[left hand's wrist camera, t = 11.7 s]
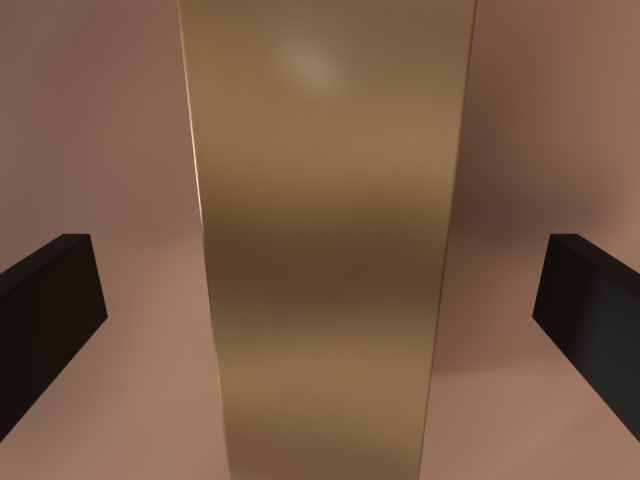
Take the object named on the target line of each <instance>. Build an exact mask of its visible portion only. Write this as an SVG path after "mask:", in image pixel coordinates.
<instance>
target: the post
mask: <svg viewBox="0 0 640 480" xmlns="http://www.w3.org/2000/svg"><path fill="white" fill-rule="evenodd" d="M476 7H477V0H177V8H178V18H179V27H180V36H181V45H182V54H183V64H184V73H185V82H186V91H187V100H188V110H189V119H190V128H191V137H192V146H193V156H194V165H195V174H196V183H197V192H198V201H199V211H200V220H201V229H202V238H203V247H204V257H205V266H206V275H207V284H208V293H209V303H210V312H211V321H212V330H213V339H214V349H215V358H216V367H217V376H218V385H219V394H220V404H221V413H222V422H223V431H224V440H225V450H226V459H227V468H228V477H229V480H419V473H420V465H421V457H422V449H423V441H424V432H425V424H426V416H427V408H428V400H429V392H430V383H431V375H432V367H433V359H434V351H435V342H436V334H437V326H438V318H439V310H440V301H441V293H442V285H443V277H444V269H445V261H446V252H447V244H448V236H449V228H450V220H451V211H452V203H453V195H454V187H455V179H456V170H457V162H458V154H459V146H460V138H461V130H462V121H463V113H464V105H465V97H466V89H467V80H468V72H469V64H470V56H471V48H472V40H473V31H474V23H475V15H476Z"/></svg>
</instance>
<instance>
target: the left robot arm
mask: <svg viewBox="0 0 640 480" xmlns="http://www.w3.org/2000/svg"><path fill="white" fill-rule="evenodd" d="M107 318H108V315H107V311H106V306H105V301H104V297H103V292H102V288H101V283H100V279H99V274H98V269H97V265H96V260H95V256H94V251H93V247H92V242H91V237H90V234H62V235H60V236H59V237H57V238H56V239H54V240H52V241H51V242H49V243H48V244H46V245H45V246H43V247H41V248H40V249H38V250H37V251H35V252H34V253H32V254H31V255H29V256H27V257H26V258H24V259H23V260H21V261H20V262H18V263H16V264H15V265H13V266H12V267H10V268H9V269H7V270H6V271H4V272H2V273H1V274H0V442H1V441H2V440H3V439H4V438H5V437H6V435H7V434H8V433H9V432H10V431H11V430H12V428H13V427H14V426H15V425H16V424H17V423H18V421H19V420H20V419H21V418H22V417H23V416H24V414H25V413H26V412H27V411H28V410H29V409H30V407H31V406H32V405H33V404H34V403H35V402H36V400H37V399H38V398H39V397H40V396H41V395H42V393H43V392H44V391H45V390H46V389H47V388H48V386H49V385H50V384H51V383H52V382H53V381H54V379H55V378H56V377H57V376H58V375H59V374H60V372H61V371H62V370H63V369H64V368H65V367H66V365H67V364H68V363H69V362H70V361H71V360H72V358H73V357H74V356H75V355H76V354H77V353H78V351H79V350H80V349H81V348H82V347H83V346H84V344H85V343H86V342H87V341H88V340H89V339H90V337H91V336H92V335H93V334H94V333H95V332H96V330H97V329H98V328H99V327H100V326H101V325H102V323H103V322H104V321H105V320H106V319H107ZM532 318H533V319H534V320H535V321H536V322H537V323H538V325H539V326H540V327H541V328H542V329H543V330H544V332H545V333H546V334H547V335H548V336H549V337H550V339H551V340H552V341H553V342H554V343H555V344H556V346H557V347H558V348H559V349H560V350H561V351H562V353H563V354H564V355H565V356H566V357H567V358H568V360H569V361H570V362H571V363H572V364H573V365H574V367H575V368H576V369H577V370H578V371H579V372H580V374H581V375H582V376H583V377H584V378H585V379H586V381H587V382H588V383H589V384H590V385H591V386H592V388H593V389H594V390H595V391H596V392H597V393H598V395H599V396H600V397H601V398H602V399H603V400H604V402H605V403H606V404H607V405H608V406H609V407H610V409H611V410H612V411H613V412H614V413H615V414H616V416H617V417H618V418H619V419H620V420H621V421H622V423H623V424H624V425H625V426H626V427H627V428H628V430H629V431H630V432H631V433H632V434H633V435H634V437H635V438H636V439H637V440H638V441H639V442H640V274H639V273H638V272H636V271H634V270H633V269H631V268H630V267H628V266H627V265H625V264H624V263H622V262H620V261H619V260H617V259H616V258H614V257H613V256H611V255H609V254H608V253H606V252H605V251H603V250H602V249H600V248H599V247H597V246H595V245H594V244H592V243H591V242H589V241H588V240H586V239H584V238H583V237H581V236H580V235H578V234H550V237H549V242H548V247H547V251H546V256H545V260H544V265H543V269H542V274H541V279H540V283H539V288H538V292H537V297H536V301H535V306H534V311H533V315H532Z"/></svg>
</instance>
